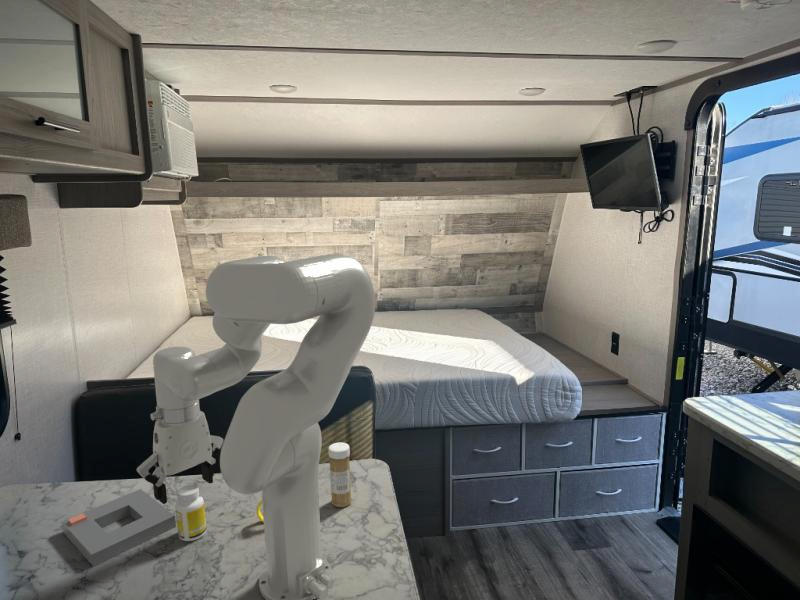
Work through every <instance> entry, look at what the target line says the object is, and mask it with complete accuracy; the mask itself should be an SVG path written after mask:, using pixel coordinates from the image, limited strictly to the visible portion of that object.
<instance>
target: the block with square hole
mask: <svg viewBox="0 0 800 600" xmlns="http://www.w3.org/2000/svg"><path fill="white" fill-rule="evenodd" d="M128 517H131V518H133V519H134V521H132V522H130V523H128V524H125V525H123V526H122V527H118V528H117V529H115V530H112V531H110V532H107V531H105V529H104V528H106V527H107V526H109V525H112V524H114V523H116V522H119V521H121V520H122V519H125V518H128ZM61 527H62V532H64V533H63V534H64V535H65V536H66V537H67V538H68V539H70V542H71V543H72V544H73V545H74V546H75V548H76V549H77V550H78V551H79V552H80V553H81V554H82V556H83V557H84V558H85V559H86V560H87V562H89V564H90V565H91V566H92V567H97V565H100V564H102V563H104V562H106V561H108V560H110V559H113V558H114V557H116V556H118V555H120V554H122V553H124V552H127V551H129V550H130V549H133V548H135V547H137V546H139V545H141V544H143V543H145V542H147V541H149V540H151V539H153V538H155V537H158V536H159V535H162V534H163V533H166V532H168V531H170V530H172V529H174V528H176V527H177V520H176V514H174V513H172V512H171V511H170V510H169V509H168V508H166V507H165V506H164V505H163V504H162V503H159V502H158V500H156V499H154V498H153V496H150V495H149V494H148V493H147V492H145V490H143V489H141V488H140V489H136V490H135V491H133V492H130V493H127V494H125V495H122V496H120V497H118V498H115V499H112V500H111V501H108V502H105V503H103V504H101V505H98V506H96V507H93V508H92V509H91V508H90V509H89V510H86V511H84V512H82V513H79V514H77V515H74V516H71V517H69V518H67V519H64V520H62V521H61Z"/></svg>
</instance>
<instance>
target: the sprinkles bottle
mask: <svg viewBox="0 0 800 600" xmlns="http://www.w3.org/2000/svg"><path fill="white" fill-rule="evenodd" d="M350 449H351V448H350V445H349V444H348V443H346V442H335V443H331V445H329V446H328V452H327V453H328V458H329V474H330V476H329V477H330V479H329V480H330V491H331V504H332V506H333V507H336V508H345V507H348V506H349V505H351V504H352V493H351V492H352V490H351V489H352V484H351V483H352V480H351V469H350V468H351V467H350V455H351V450H350Z"/></svg>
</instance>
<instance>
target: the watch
mask: <svg viewBox="0 0 800 600" xmlns="http://www.w3.org/2000/svg"><path fill="white" fill-rule="evenodd" d="M261 505H262V499H260V501H259V502H258V504H257V507H256V515H257V518H258V519H259V521H261V522H262V523H264V521H263V513H262V511H261Z"/></svg>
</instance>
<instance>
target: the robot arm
mask: <svg viewBox="0 0 800 600" xmlns="http://www.w3.org/2000/svg"><path fill="white" fill-rule="evenodd" d="M205 297H206V301H207V303H208V306H209V308H210V309H211V310H212V311H213V312H214V314H213V317H212V327H213V330H214V332H215V334H216V336H218V337H217V338H219V339H220V340H221V341H223V342H224V343H225V344H224V345H223V346H222V347H220V348H216V349H214V350H211V351H207V352H204V353H201V354H198V355H196V354H195V351H194V350H193V348H190V347H186V346H170V347H166V348H163V349H160V350H158V351H157V352H156V353H154V355H153V359H152V365H153V376H154V387H155V397H156V406H155V411H154V412H152V413H150V419H151V420H152V421H155V423H154V428H153V429H154V430H153V436H152V437H153V439H152V441H153V442H152V452H153V453H152V454H151V455H150V456H149V457H148V458H147V459H145V460H144V461H143V462H142V463H141V464H140V465H138V466H137V468H136V472H137V473H138V474H139V475H140V476H141V477H142V478H143V480H145V481H146V482H148V483H150V484H152V486H153V487H152V488H153V497H154V498H155V499H154V500H156V501H159V502H160V504H161V505H166V504H167V502H168V494H167V486H166V484H165V483H164V482H165V480H166V478H167V477H168V476H172V475H173V476H174V475H175V474H179V473H181V472H184V471H186V470H188V469H191V468H193V467H195V466H198V465H200V464H201V465H200V466H201V478H202V480H203V481H205V482H207V483H208V484H213V483H214V475H215V471H214V464H216V458H218V456H219V467H220V474H221V475H222V479H223V480H224V482H225V484H226V485H227V486H228V488H229V489H230V490H232V491H233V492H235V493H237V494H241V495H254V494H257V493H260V492H261V500H262V504H261V505H262V516H263V521H264V522H263V531H264V533H263V534H264V544H265V557H266V566H265V567H264V569H263V570H262V571H261V573H260V576H259V579H258V587H259V593H260V595H261V596H262V597H263V598H264V599H265V600H313V599H314V600H315V599H318V600H326V599H327V598H328V596H329V589H328V588H331V587H333V585H334V582H335V581H334V579H333V578H332V567H331V565H330V563H329V562H328V560H327V559H326V558H325V557H323V554H322V535H321V534H322V533H321V519H320V516H321V515H320V502H319V501H320V500H319V499H320V494H319V493H320V491H319V469H320V467H319V466H320V458H321V453H322V445H323V444H322V442H323V441H322V440H323V439H322V431H321V430H322V429H321V427H320V425H319V422H320V421H321V420H324V419H325V418H326V417H327V416H328V414H329V413H330V412H331V410H332V408H333V407H334V404H335V403H336V400H337V398H338V396H339V394H340V391H341V390H342V388H343V386H344V384H345V382H346V380H347V377H348V376H349V374H350V372H351V368H352V366H353V364H354V362H355V360H356V358H357V356H358V355H359V353H360V351H361V348H362V347H363V345H364V344H365V341H366V339H367V337H368V335H369V332H370V329H371V327H372V324H373V321H374V317H375V312H376V293H375V288H374V285H373V281H372V278H371V276H370V274H369V272H368V271H367V269H366V268H365V267H364V265H363V264H362V263H361V262H359V261H358V260H357V259H356V258H354V257H351V256H349V255H345V254H337V253H336V254H335V253H334V254H329V253H328V254H324V255H323V254H321V255H317V256H312V257H307V258H300V259H295V260H290V261H286V260H285V259H283V258H282V257H281V258H280V257H278V256H273V255H261V256H260V255H259V256H253V257H249V258H241V259H236V260H229V261H226V262H223V263H221V264H219V265H218V266H216V267H214V269H213V270H212V271H211V273H210V274H209V276H208V278H207V281H206V284H205ZM316 317H318V318H317V320H315V322H314V323H313V325H312V326H311V327H310V328H309V330H307V332H306V334H305V335H304V337H303V338H302V340H301V343H300V345H299V348H298V350H297V352H296V355H295V356H294V358H293V360H292V362H291V363H290V365H289V366H288V367H287V368H285V369H283V370H281V371H280V372H279V373H276V374H274V375H272V376H269V377H267V378H264V379H262V380H259V381H258V382H257V383H255V384H253V385H251V387H250V388H248V390H247V391H246V392H245V393H244V394H243V395H242V396H241V398H240V400H239V402H238V405H237V407H236V409H235V412H234V415H233V417H232V419H231V421H230V425H229V427H228V429H227V432H226V435H225V438H223V437H221V436H219V435H218V436H217V435H211V434H210V429H209V424H208V421H207V419H206V418H207V417H206V415H205V412H204V411H201V409H200V399H203V398H205V397H208V396H211V395H213V394H214V393H217V392H219V391H222V390H225V389H226V388H229V387H232V386H234V385H236V384H238V383H240V382H241V381H242V380H244V379H245V377H247V376H248V374H250V372H251V371H252V370H253V368H254V367H255V366H256V364H257V363H258V362H259V361H260V358H261V356H262V351H263V342H262V336H263V334H264V333H265V332H266V331H267V329H268V328H269V327H270V325H289V324H291V325H292V324H296V323H301V322H305V321H308V320H311V319H314V318H316ZM212 444H213V445H212ZM219 454H220V455H219ZM153 466H154V467H155V470H154V471H153V472H152V474H151V472H149V470H150V469H151V468H152V467H153Z"/></svg>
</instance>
